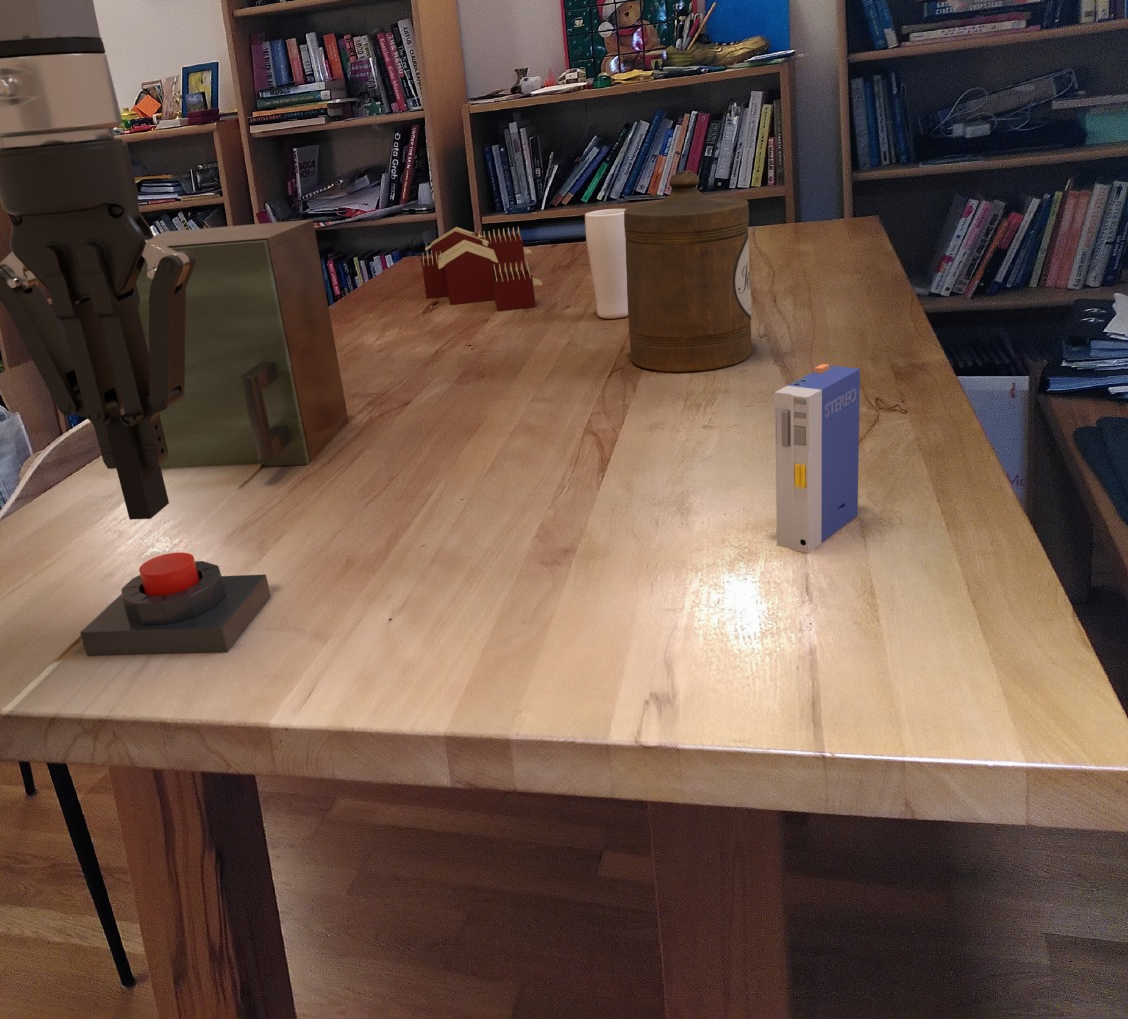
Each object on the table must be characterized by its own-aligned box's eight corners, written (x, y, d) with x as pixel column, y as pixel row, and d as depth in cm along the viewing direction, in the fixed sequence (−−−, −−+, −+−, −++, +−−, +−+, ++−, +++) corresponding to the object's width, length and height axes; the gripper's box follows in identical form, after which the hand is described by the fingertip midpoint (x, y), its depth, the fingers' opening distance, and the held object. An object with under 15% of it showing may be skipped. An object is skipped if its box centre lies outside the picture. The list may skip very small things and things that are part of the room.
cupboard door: (289, 484, 98) (241, 250, 90) (129, 492, 100) (68, 264, 92) (310, 461, 104) (267, 239, 96) (158, 469, 106) (103, 253, 98)
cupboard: (310, 462, 104) (267, 237, 96) (160, 470, 106) (104, 251, 98) (348, 422, 116) (313, 219, 108) (212, 430, 118) (167, 231, 110)
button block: (86, 657, 70) (72, 611, 69) (142, 601, 77) (131, 559, 76) (227, 653, 69) (216, 606, 67) (271, 597, 76) (261, 553, 75)
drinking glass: (647, 314, 154) (640, 209, 148) (610, 323, 151) (602, 216, 145) (619, 308, 159) (612, 207, 154) (583, 317, 156) (574, 214, 150)
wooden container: (774, 358, 125) (772, 165, 116) (662, 380, 120) (650, 181, 112) (716, 336, 138) (709, 161, 129) (612, 354, 133) (599, 175, 125)
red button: (135, 599, 70) (129, 575, 70) (160, 575, 74) (154, 553, 73) (185, 597, 70) (179, 574, 69) (208, 573, 73) (202, 551, 73)
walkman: (824, 509, 82) (825, 360, 77) (858, 516, 80) (860, 363, 75) (773, 546, 76) (771, 388, 72) (807, 554, 75) (807, 392, 70)
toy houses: (427, 275, 206) (419, 222, 202) (530, 263, 207) (524, 211, 204) (425, 320, 164) (416, 255, 160) (554, 306, 166) (548, 241, 162)
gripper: (-89, 152, 58) (27, 537, 67) (130, 134, 57) (219, 531, 66) (-8, 143, 65) (87, 493, 74) (189, 126, 63) (263, 487, 72)
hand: (149, 510), depth 70 cm, fingers closed
